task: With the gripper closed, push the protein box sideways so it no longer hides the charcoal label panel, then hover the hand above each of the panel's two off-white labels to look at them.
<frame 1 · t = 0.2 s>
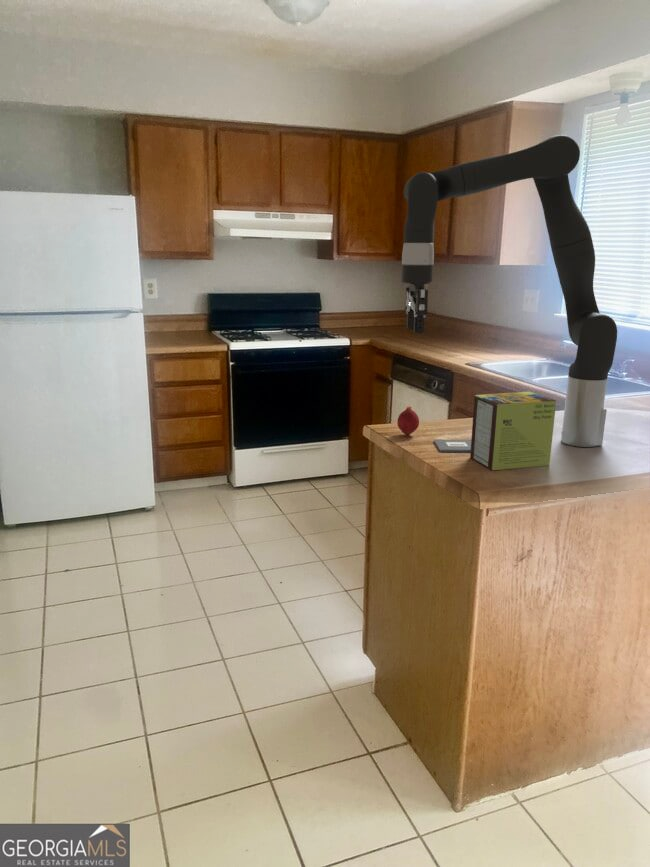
hand: (414, 331, 157), 29 cm above the countertop, tool pointing down, fingers open, 8 cm apart
onion: (407, 436, 172), on the countertop
protein box: (508, 462, 151), on the countertop
label panel: (474, 446, 162), on the countertop
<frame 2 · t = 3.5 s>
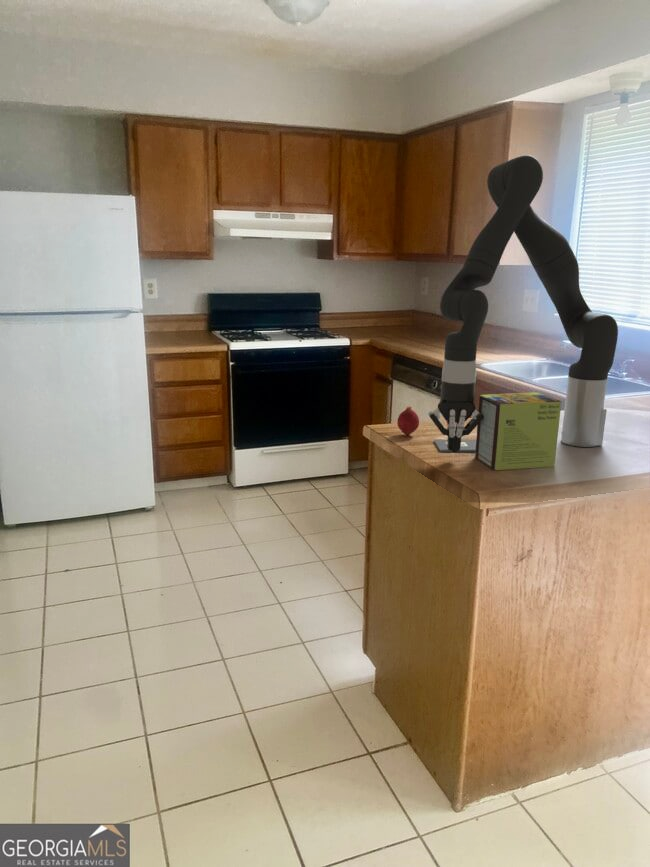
hand: (453, 451, 150), 2 cm above the countertop, tool pointing down, fingers closed
protein box: (513, 462, 151), on the countertop
everything else where it was.
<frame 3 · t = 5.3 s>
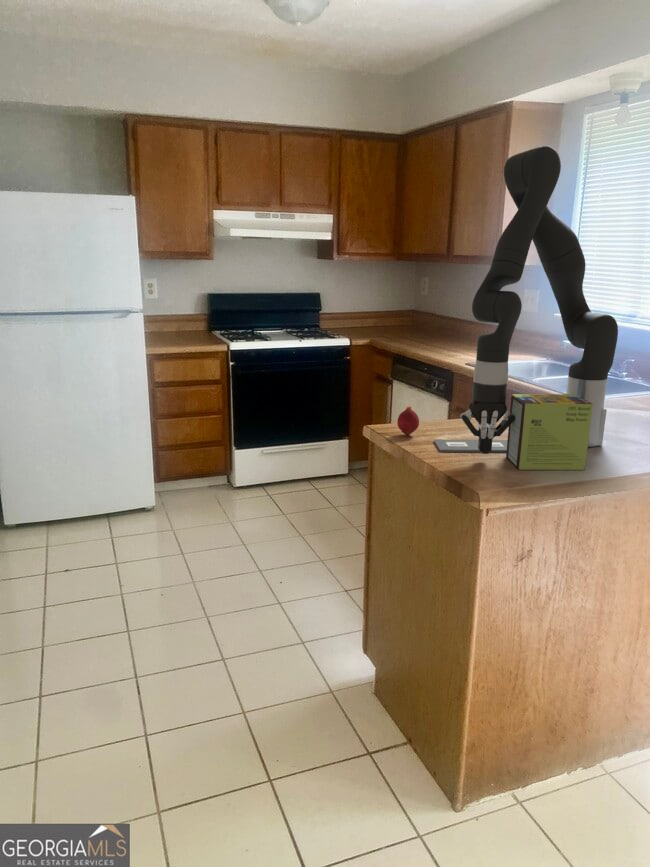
hand: (484, 452, 150), 2 cm above the countertop, tool pointing down, fingers closed
protein box: (543, 464, 150), on the countertop, touching hand
everything else where it was.
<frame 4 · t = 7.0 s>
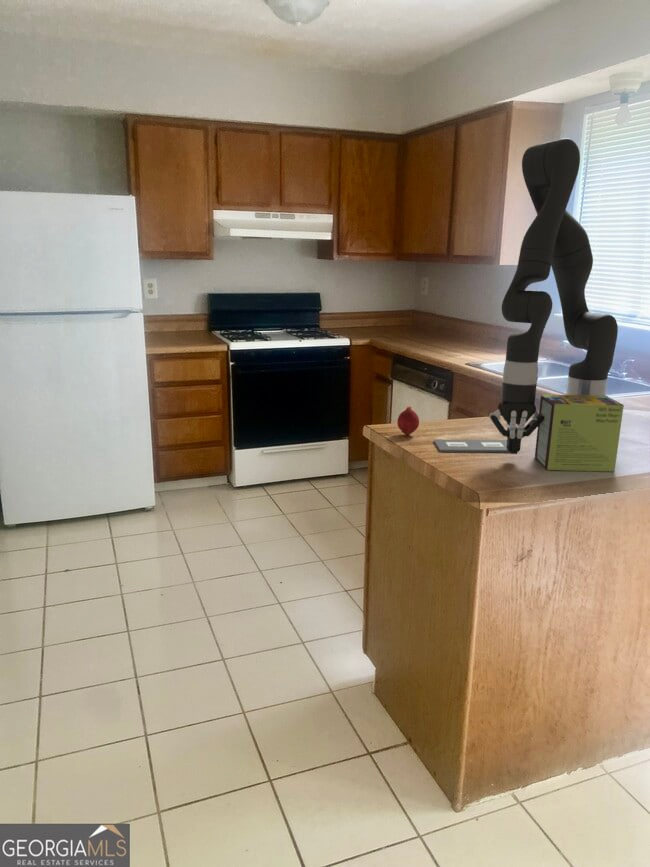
hand: (512, 453, 150), 2 cm above the countertop, tool pointing down, fingers closed
protein box: (573, 464, 149), on the countertop, touching hand
everything else where it was.
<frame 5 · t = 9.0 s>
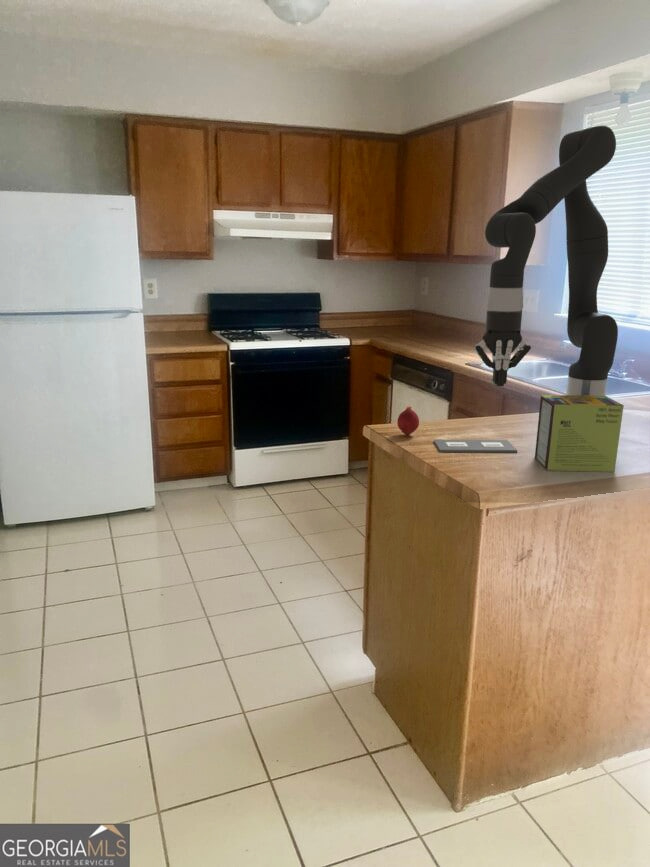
hand: (499, 385, 146), 18 cm above the countertop, tool pointing down, fingers closed
protein box: (573, 465, 149), on the countertop
everything else where it was.
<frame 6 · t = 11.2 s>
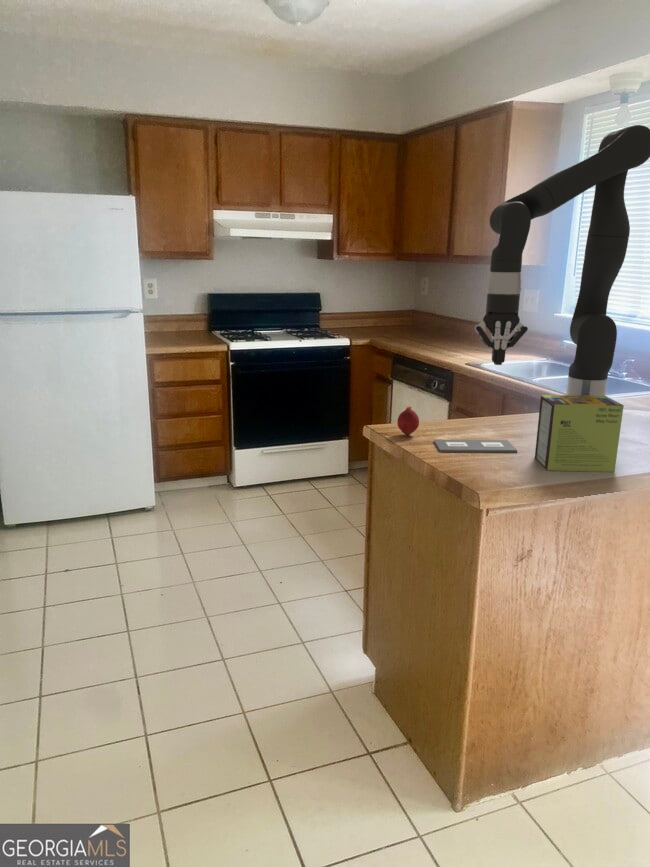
hand: (497, 364, 156), 21 cm above the countertop, tool pointing down, fingers closed
nothing on the countertop moved.
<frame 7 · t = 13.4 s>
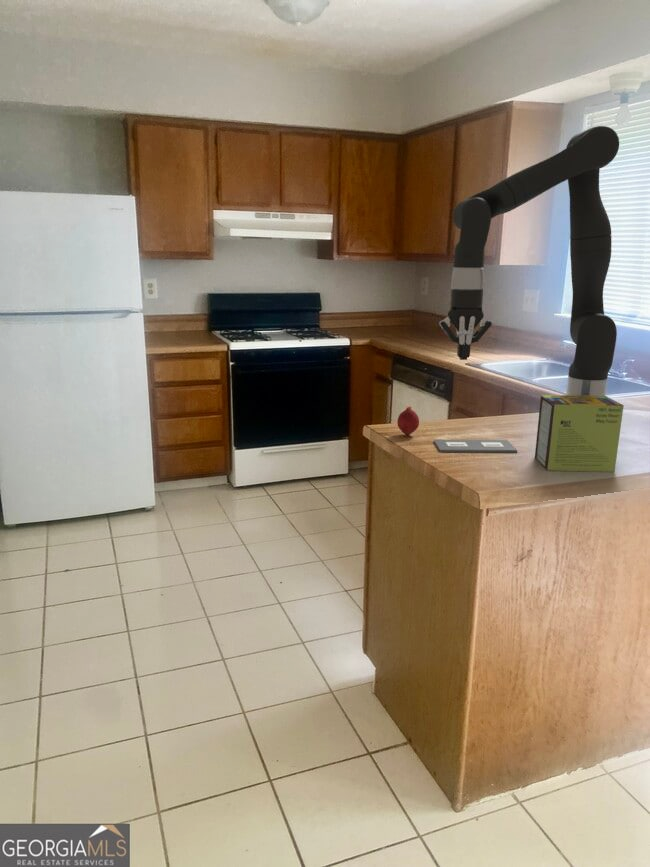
hand: (463, 359, 157), 22 cm above the countertop, tool pointing down, fingers closed
nothing on the countertop moved.
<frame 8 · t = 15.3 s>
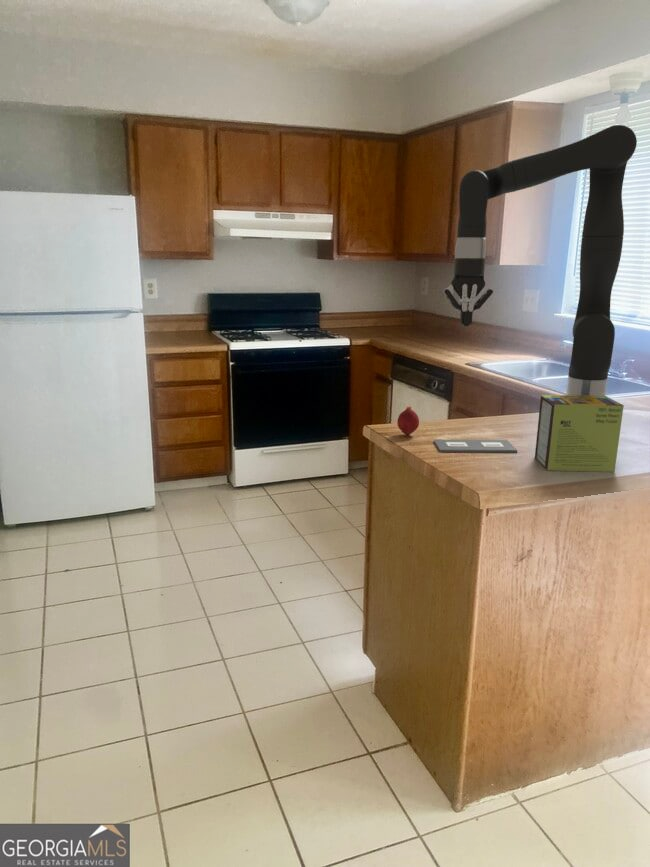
hand: (465, 325, 166), 29 cm above the countertop, tool pointing down, fingers closed
nothing on the countertop moved.
at the end: protein box moved 14.6 cm from its start; protein box inside the target area (2.1 cm from its centre), on the countertop; protein box tilted 0° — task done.
